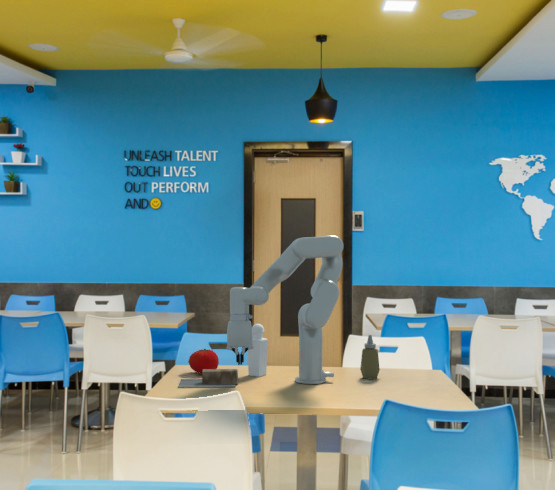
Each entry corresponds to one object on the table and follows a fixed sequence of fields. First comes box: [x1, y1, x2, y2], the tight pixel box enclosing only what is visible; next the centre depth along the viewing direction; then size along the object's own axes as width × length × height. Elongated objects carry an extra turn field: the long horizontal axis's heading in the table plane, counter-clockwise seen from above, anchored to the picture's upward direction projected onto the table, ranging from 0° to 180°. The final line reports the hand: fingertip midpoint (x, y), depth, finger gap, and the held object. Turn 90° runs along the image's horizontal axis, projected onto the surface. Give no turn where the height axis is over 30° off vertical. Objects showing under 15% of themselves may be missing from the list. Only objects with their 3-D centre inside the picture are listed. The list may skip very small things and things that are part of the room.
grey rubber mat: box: [177, 378, 236, 389], centre depth 231 cm, size 22×14×1 cm, turn 94°
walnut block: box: [201, 368, 239, 385], centre depth 231 cm, size 5×5×14 cm
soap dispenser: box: [247, 323, 269, 378], centre depth 250 cm, size 6×6×22 cm
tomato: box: [188, 348, 220, 374], centre depth 253 cm, size 13×12×11 cm
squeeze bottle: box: [360, 334, 381, 380], centre depth 245 cm, size 8×8×18 cm
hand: (240, 364), depth 232 cm, fingers closed
